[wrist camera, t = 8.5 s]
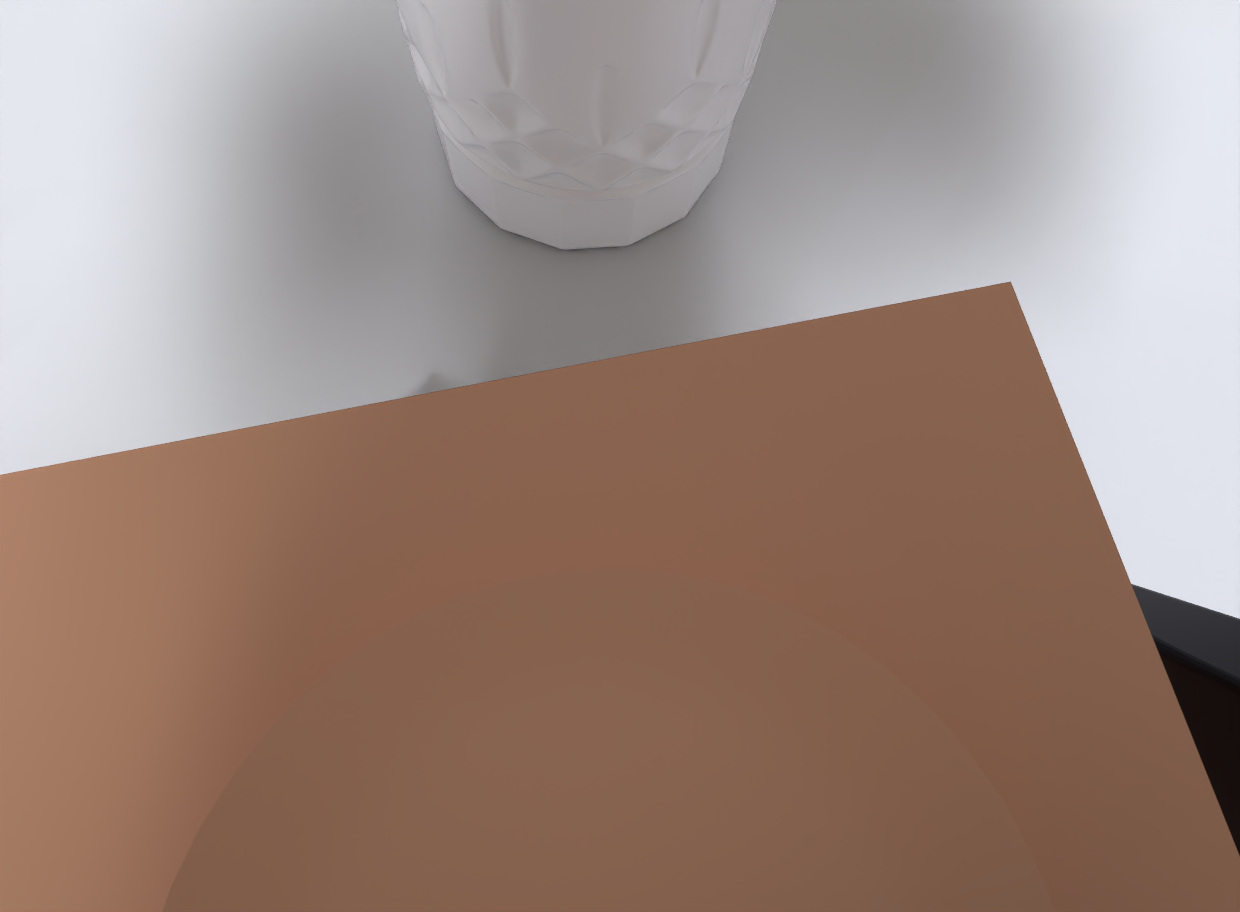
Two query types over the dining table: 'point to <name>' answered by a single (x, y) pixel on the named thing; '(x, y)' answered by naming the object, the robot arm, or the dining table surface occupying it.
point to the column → (606, 649)
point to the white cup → (584, 106)
